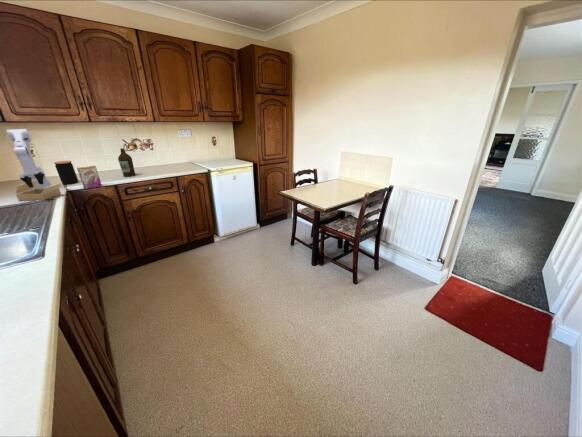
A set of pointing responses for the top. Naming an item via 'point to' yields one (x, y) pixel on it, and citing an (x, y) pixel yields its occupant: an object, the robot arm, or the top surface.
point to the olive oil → (126, 164)
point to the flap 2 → (52, 187)
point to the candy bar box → (89, 176)
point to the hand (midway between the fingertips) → (36, 185)
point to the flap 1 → (24, 187)
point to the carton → (37, 195)
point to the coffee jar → (66, 172)
